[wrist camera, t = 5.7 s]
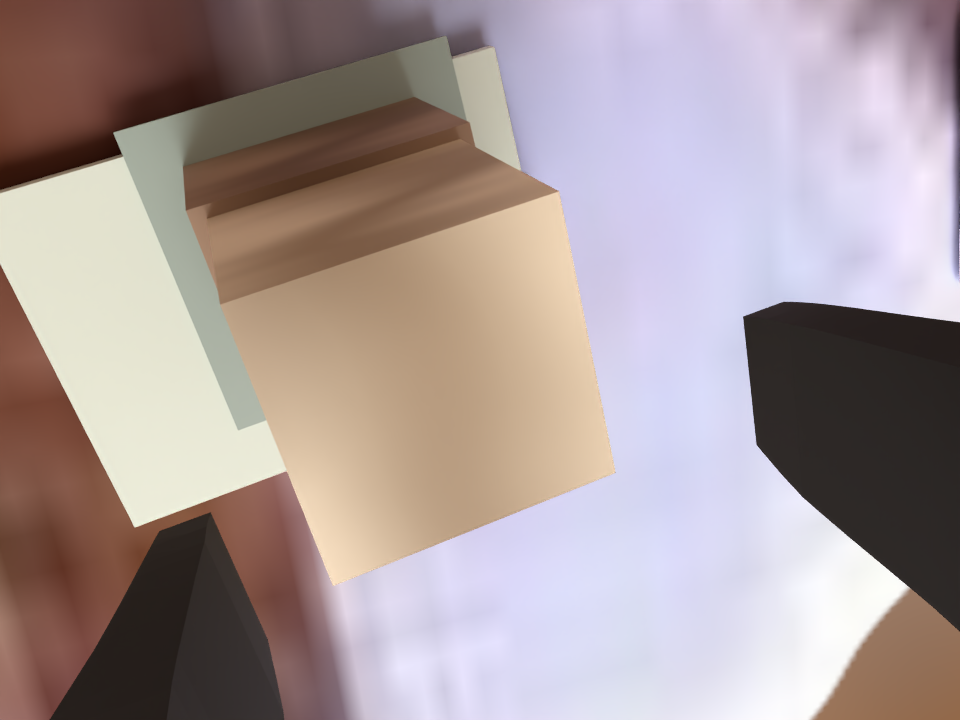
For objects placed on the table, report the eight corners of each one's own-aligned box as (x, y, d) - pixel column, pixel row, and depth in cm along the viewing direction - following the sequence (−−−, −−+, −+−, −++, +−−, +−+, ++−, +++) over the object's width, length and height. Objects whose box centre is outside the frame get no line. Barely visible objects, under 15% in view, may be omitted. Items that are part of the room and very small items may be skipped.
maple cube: (459, 139, 16) (558, 191, 12) (514, 362, 18) (615, 472, 14) (206, 218, 15) (220, 304, 11) (294, 444, 17) (333, 585, 13)
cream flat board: (483, 22, 19) (490, 23, 19) (558, 362, 23) (565, 369, 23) (-40, 173, 17) (-46, 179, 17) (135, 518, 21) (134, 529, 21)
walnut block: (414, 96, 19) (469, 122, 15) (469, 306, 21) (528, 371, 18) (182, 166, 18) (185, 210, 15) (265, 378, 20) (285, 460, 17)
